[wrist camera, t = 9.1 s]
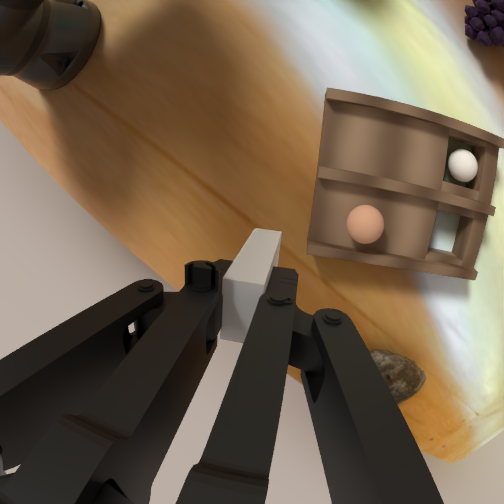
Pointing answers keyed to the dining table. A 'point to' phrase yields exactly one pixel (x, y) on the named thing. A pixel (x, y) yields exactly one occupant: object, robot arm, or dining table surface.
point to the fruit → (485, 22)
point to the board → (398, 184)
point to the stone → (399, 374)
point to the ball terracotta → (365, 224)
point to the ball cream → (462, 165)
